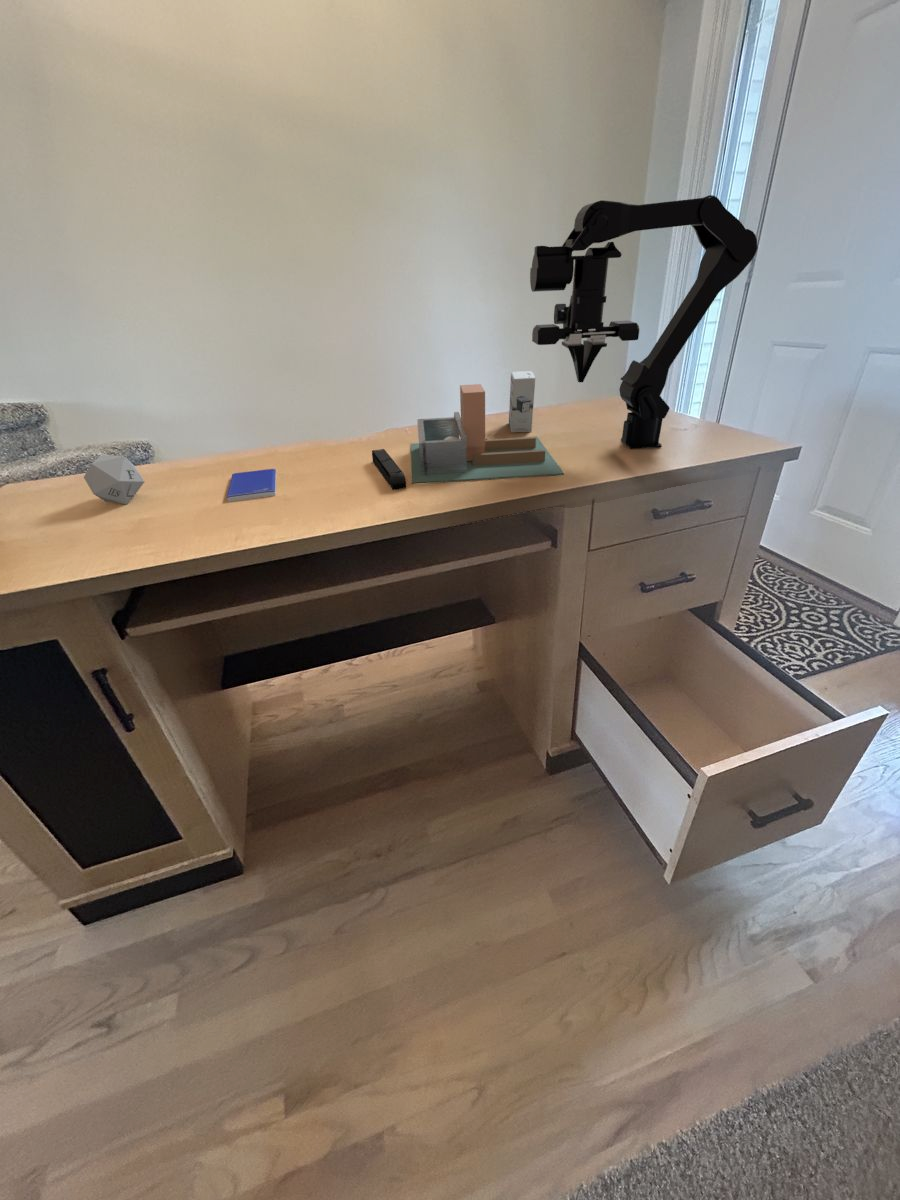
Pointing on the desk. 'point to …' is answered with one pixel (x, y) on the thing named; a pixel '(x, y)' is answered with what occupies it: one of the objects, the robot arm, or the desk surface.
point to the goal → (442, 445)
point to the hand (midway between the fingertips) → (580, 382)
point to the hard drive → (252, 485)
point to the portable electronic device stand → (389, 469)
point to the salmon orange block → (473, 418)
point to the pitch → (496, 462)
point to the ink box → (521, 401)
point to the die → (113, 479)
